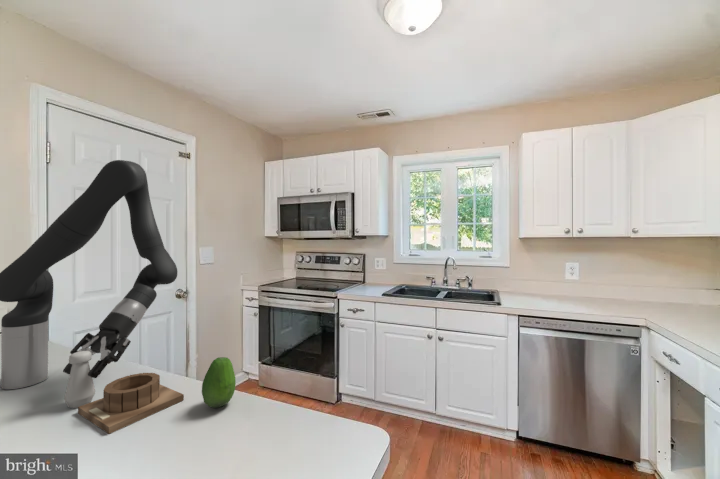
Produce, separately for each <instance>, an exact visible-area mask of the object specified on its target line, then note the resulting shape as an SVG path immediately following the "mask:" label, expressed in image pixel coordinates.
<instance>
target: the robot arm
mask: <svg viewBox="0 0 720 479" xmlns="http://www.w3.org/2000/svg"><path fill="white" fill-rule="evenodd" d="M149 192H150V190H149V183H148V178H147V172H146V170H145V169H144V168H143V166H142V165H140V164H138V163H136V162H134V161H131V160H122V159H117V160H111V161H109V162H107V163H106V164H105V165H104V166H103V167H102V168H101V169H100V171H99V172H98V173H97V175H95V178H94V179H93V180H92V182H91V183H90V185H89V186H88V187H87V188H86V190H85V191H84V192H83V193H82V194H81V195H80V196H79V197H78V198H76V199H75V200H74V201H73V202H72V203H71V204H70V205H69V206H68V207H67V208H66V209H65V210H64V211H63V212H62V213H61V214H60V215H59V216H58V217H57V218H56V219H54V221H53V222H52V223H51V224H50V226H48V227H47V229H46V230H45V231H44V232H43V233H42V234H41V235H40V236H39V237H38V238H37V239H36V240H35V241H34V242H33V243H32V244H31V245H30V246H29V248H27V249H26V250H25V252H23V253H22V254H21V255H20V256H18V257H17V258H16V259H15V260H14V261H12V262H11V263H10V264H9V265H8V266H6V267H5V268H4V269H3V270H2V271H1V272H0V302H3V303H16V302H17V303H16V305H15V307H14V308H12V309H11V310H10V311H8V312H7V313H6V314H4V315H3V316H2V317H1V323H0V324H1V327H0V328H1V331H0V333H1V336H0V337H1V358H0V359H1V362H0V365H1V367H0V369H1V372H0V373H1V374H0V375H1V376H0V379H1V383H0V386H1V387H0V388H1V390H16V389H22V388H26V387H30V386H33V385H37V384H39V383H42V382H43V381H46V380H47V379H48V378H49V315H50V314H51V311H52V308H53V300H54V298H53V297H54V279H53V276H52V275H51V273H50V272H49V269H50V268H51V267H52V266H54V265H56V264H57V263H59V262H60V261H63V260H64V259H66V258H68V257H70V256H71V255H73V254H75V253H76V252H77V251H80V249H82V248H84V246H86V245H87V244H88V243H89V242H90V240H92V239H93V237H94V236H95V235H96V234H97V233H98V231H99V230H100V229H101V228H102V226H103V224H104V221H105V219H106V217H107V215H108V213H109V212H110V210H111V209H112V207H113V206H114V205H115V204H116V203H118V202H119V201H120V200H121V199H122V198H124V199H125V201H126V203H127V206H128V211H129V218H130V229H131V235H132V238H133V240H134V244H135V247H136V249H137V252H138V255H139V256H140V258H143V259H146V260H148V261H149V262H150V263H149V264H147V265H146V266H144V267H143V268H142V270H140V272H139V273H138V275H137V277H136V279H135V281H134V284H133V286H132V287H131V289H130V290H129V291H128V292H127V293H126V294H125V296H124V297H123V298H122V299H121V300H120V302H118V303H117V304H116V305H115V306H114V307H113V309H112V310H111V311H110V312H109V313H108V314H107V316H106V317H105V318H104V319H103V320H102V322H101V323H100V324H99V326H98V329H99V331H98V332H97V333H96V334H95V335H94V334H92V333H90V332H88V333H86V334H85V335H84V336H83V337H82V338H81V339H80V340H79V342H77V344H76V345H75V346H74V347H73V348H72V349H71V350H70V352H69V354H70V355H71V354H73V353H76V352H80V351H90V352H91V354H92V356H94V355H96V354H100V359H99V360H97V361H96V363H95V364H94V365H93V367H92V368H90V372H89V373H88V376H90V377H92V379H97V378H98V377H99V376H100V375H101V374H102V372H103V371H104V370H105V369H106V367H107V365H110V364H111V363H113V362H114V363H117V362H118V361H119V360H120V359H121V357H122V356H123V354H124V353H125V351H126V350H127V349H128V347H129V346H130V345H131V340H130V339H129V338H128V337H129V336H130V335H131V333H132V332H133V331H134V329H135V328H136V327H137V325H138V324H139V323H140V321H141V320H142V319H143V318H144V315H145V313H146V312H147V311H148V309H149V308H150V307H151V305H152V304H153V302H155V299H156V298H157V296H158V295H157V292H156V290H155V288H156V287H157V286H158V285H169V284H172V283H174V282H175V281H176V280H177V278H178V268H177V267H178V266H177V265H176V263H175V261H174V260H173V258H172V256H171V255H170V253H169V252H168V250H167V249H166V248H165V245H164V242H163V239H162V236H161V234H160V231H159V227H158V224H157V221H156V217H155V215H154V211H153V207H152V204H151V203H152V201H151V198H150V193H149ZM116 353H117V354H116ZM71 368H72V364H70V363H69V362H68V363H67V364H66V366H65V367H64V368H63V370H62V372H63V373H65V374H67V375H70V372H71Z"/></svg>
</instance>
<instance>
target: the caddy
mask: <svg viewBox="0 0 720 479" xmlns="http://www.w3.org/2000/svg"><path fill="white" fill-rule="evenodd" d="M160 376H161V375H160V374H158V373H155V372H139V373H134V374H133V373H132V374H130V375H125V376H122V377H120V378H116V379H115V380H112V381H110V382H109V383H108V384H106V385H105V386H104V388H103V396H102V397H101V398H99V399H96V400H94V401H93V400H92V401H91V402H90V403H88V404H85V405H82V406H80V407H78V408H77V413H78V414H79V415H80V416H81V417H83V418H84V419H86V420H87V421H89V422H90V423H92V424H94V425H95V426H96V427H98V428H99V429H100V430H102V431H103V432H105V433H106V434H108V435H110V434H113V433H115V432H116V431H119V430H121V429H123V428H126V427H128V426H130V425H133V424H135V423H137V422H139V421H141V420H143V419H145V418H148V417H150V416H152V415H155V414H157V413H159V412H162V411H163V410H165V409H168V408H169V407H172V406H174V405H177V404H179V403H182V402H183V401H185V398H184V397H185V394H183V393H181V392H178V391H176V390H174V389H171V388H169V387H168V386H165V385H162V384H161V383H160V381H161V380H160Z"/></svg>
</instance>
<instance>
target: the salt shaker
mask: <svg viewBox="0 0 720 479" xmlns="http://www.w3.org/2000/svg"><path fill="white" fill-rule="evenodd" d="M92 356H93V355H92V354H91V352H90V351H80V352H76V353H73V354H71V353H70V355H69V356H68V363H70V364H72V368H71V372H70V374H69V377H68V380H67V381H68V382H67V386H66V391H65V395H64V402H65V404H66V405H67V407H68V408H70V409H78V407H80V406H82V405H85V404H88V403H91V402H93V398H94V397H95V394H96V388H95V383H94V378H92V377H90V376H88V373H89V372H90V370H91V367H90V361H91V360H92Z"/></svg>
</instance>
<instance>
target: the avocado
mask: <svg viewBox="0 0 720 479" xmlns="http://www.w3.org/2000/svg"><path fill="white" fill-rule="evenodd" d="M236 386H237V385H236V374H235V370H234V366H233V362H232V361H231V360H230V358H228V357H225V356H222V357H220V356H219V357H217V358H215V359H213V361H211V363H210V365H209V368H207V371H206V373H205V375H204V378H203V381H202V384H201V394H202V395H201V396H202V399H203V403H204V404H206V406H208V407H210V408H214V409H218V408H221V407H223V406H225V405H227V404H228V403H230V401H231V400H232V399H233V396H234V394H235V390H236Z"/></svg>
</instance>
